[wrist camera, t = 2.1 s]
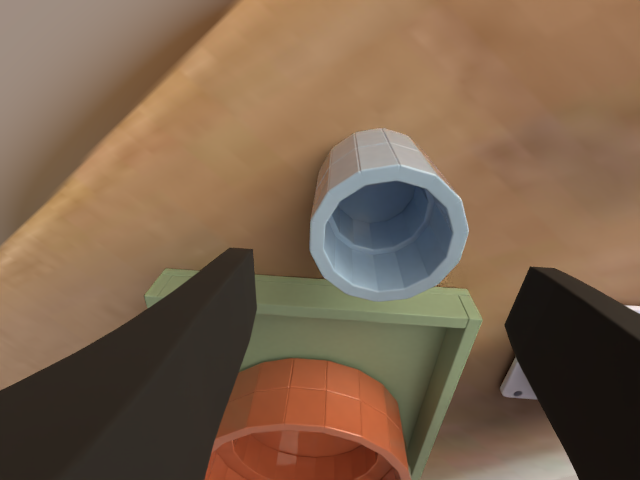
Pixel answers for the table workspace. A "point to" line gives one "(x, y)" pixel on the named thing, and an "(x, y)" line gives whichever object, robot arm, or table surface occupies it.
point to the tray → (365, 341)
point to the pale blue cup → (384, 218)
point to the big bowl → (309, 426)
